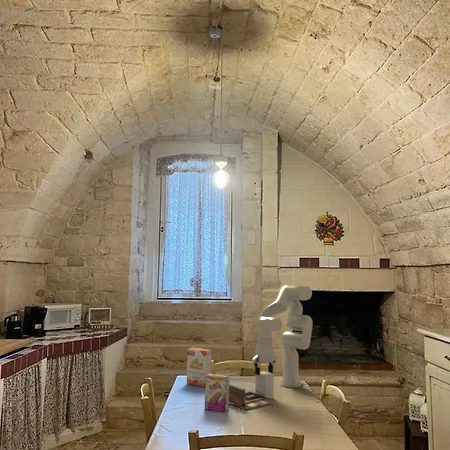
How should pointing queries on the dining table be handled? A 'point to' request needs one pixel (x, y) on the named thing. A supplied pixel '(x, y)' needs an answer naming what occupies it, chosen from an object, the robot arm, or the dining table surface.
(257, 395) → the gauge carriage
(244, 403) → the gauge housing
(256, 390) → the small box
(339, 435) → the dining table surface
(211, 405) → the candy bar box
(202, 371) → the cracker box
